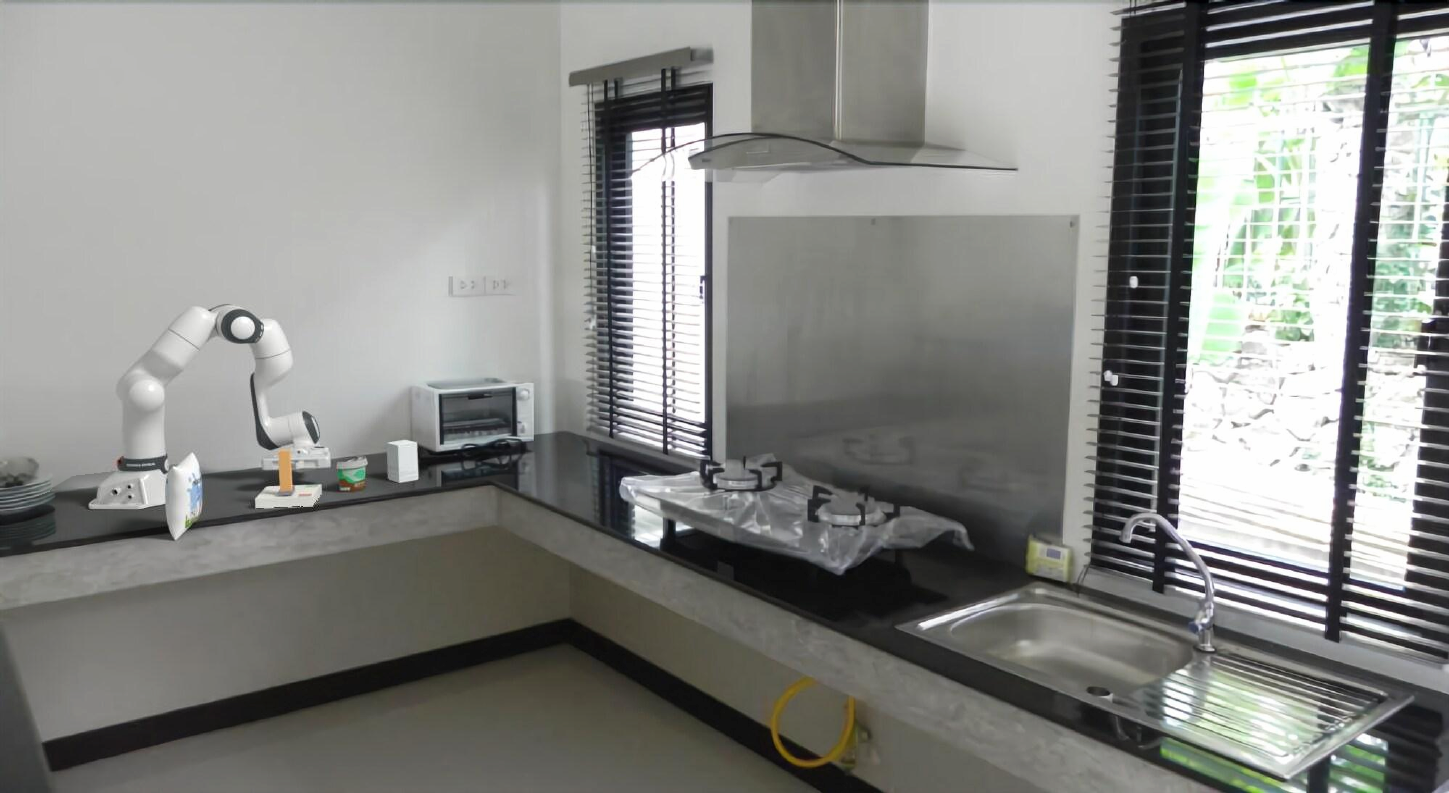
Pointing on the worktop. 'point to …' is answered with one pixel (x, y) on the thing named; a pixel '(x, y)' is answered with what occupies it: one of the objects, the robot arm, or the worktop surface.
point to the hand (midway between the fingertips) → (292, 467)
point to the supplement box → (402, 461)
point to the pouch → (183, 495)
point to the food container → (352, 474)
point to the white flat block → (289, 497)
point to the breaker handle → (285, 473)
